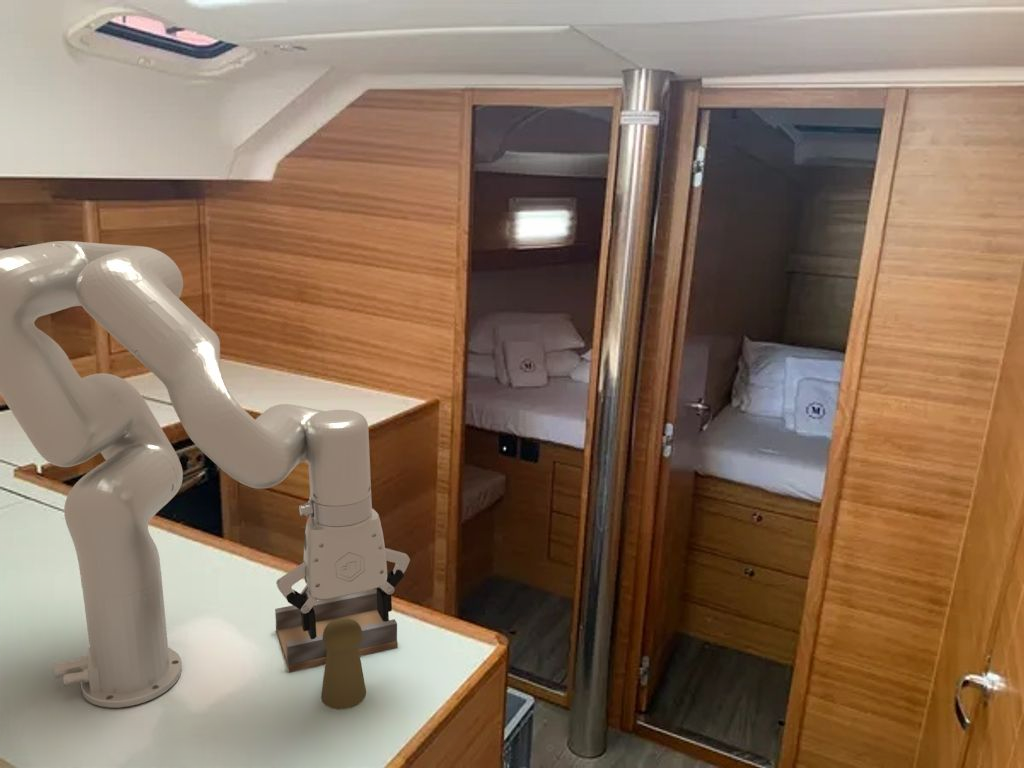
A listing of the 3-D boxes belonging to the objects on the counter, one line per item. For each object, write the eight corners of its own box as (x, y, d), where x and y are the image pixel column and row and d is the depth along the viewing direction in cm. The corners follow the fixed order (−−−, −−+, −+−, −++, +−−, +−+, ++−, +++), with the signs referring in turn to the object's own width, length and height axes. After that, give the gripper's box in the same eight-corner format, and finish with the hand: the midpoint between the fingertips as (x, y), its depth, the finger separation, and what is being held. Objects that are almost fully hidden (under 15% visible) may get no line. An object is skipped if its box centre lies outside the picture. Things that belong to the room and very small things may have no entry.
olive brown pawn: (346, 674, 114) (345, 606, 110) (375, 693, 110) (374, 623, 107) (311, 695, 109) (309, 625, 106) (340, 715, 105) (338, 643, 102)
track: (289, 672, 113) (287, 648, 112) (275, 630, 123) (274, 607, 122) (397, 647, 120) (397, 624, 119) (377, 609, 130) (377, 587, 128)
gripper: (276, 532, 95) (286, 656, 100) (416, 507, 102) (418, 624, 107) (266, 507, 101) (276, 625, 106) (398, 485, 108) (401, 596, 113)
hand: (347, 624), depth 106 cm, fingers open, 9 cm apart
